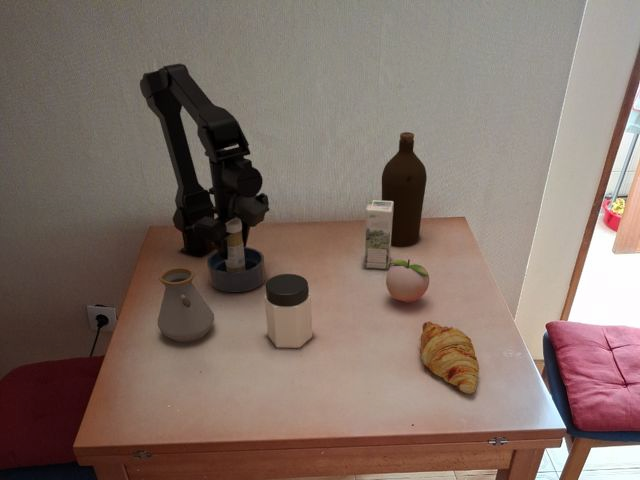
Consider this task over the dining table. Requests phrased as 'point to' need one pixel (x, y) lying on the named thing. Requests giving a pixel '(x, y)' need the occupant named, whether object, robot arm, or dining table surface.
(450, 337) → the croissant
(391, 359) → the dining table surface
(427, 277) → the decorative fruit
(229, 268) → the sprinkles bottle
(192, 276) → the coffee pot
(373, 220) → the syrup box
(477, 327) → the dining table surface
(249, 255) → the bowl
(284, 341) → the jar
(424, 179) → the olive oil
